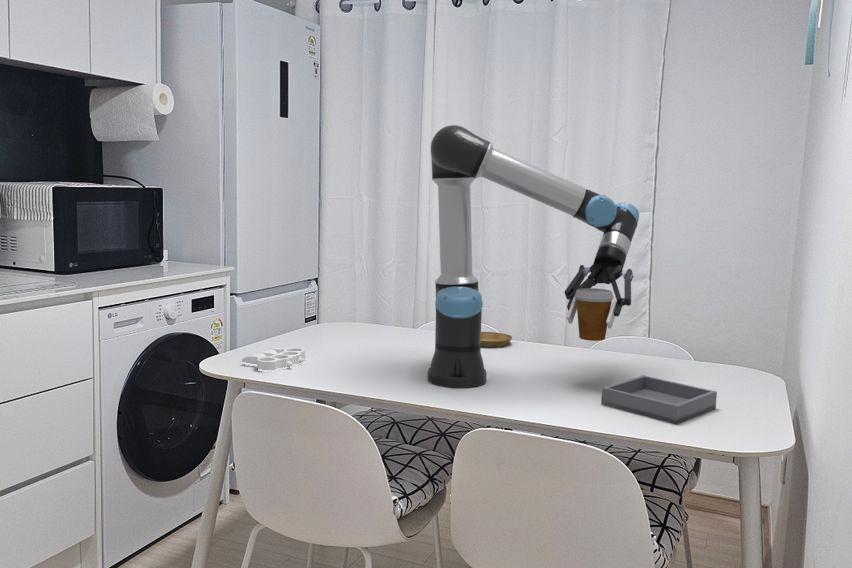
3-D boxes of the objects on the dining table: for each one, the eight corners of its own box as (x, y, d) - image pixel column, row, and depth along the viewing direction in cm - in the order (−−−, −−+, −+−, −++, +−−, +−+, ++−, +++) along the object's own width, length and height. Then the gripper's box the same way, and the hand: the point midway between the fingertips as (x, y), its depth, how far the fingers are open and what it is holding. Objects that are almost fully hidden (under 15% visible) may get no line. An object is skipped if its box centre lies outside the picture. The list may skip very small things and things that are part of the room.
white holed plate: (274, 356, 223) (317, 361, 217) (234, 369, 207) (279, 376, 201) (274, 344, 222) (317, 350, 216) (234, 357, 206) (279, 363, 200)
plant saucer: (488, 337, 254) (488, 329, 253) (521, 345, 243) (522, 337, 242) (455, 343, 244) (455, 334, 244) (488, 351, 233) (489, 343, 233)
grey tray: (601, 404, 179) (601, 387, 178) (642, 390, 191) (643, 375, 191) (676, 424, 165) (677, 406, 165) (715, 408, 178) (716, 391, 177)
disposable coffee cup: (615, 342, 188) (618, 294, 186) (577, 342, 188) (579, 293, 186) (606, 334, 197) (608, 288, 195) (569, 334, 197) (571, 287, 195)
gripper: (657, 266, 197) (635, 337, 186) (574, 259, 208) (550, 326, 197) (652, 246, 192) (630, 318, 181) (568, 241, 203) (542, 309, 192)
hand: (588, 322), depth 189 cm, fingers closed on disposable coffee cup, 9 cm apart
